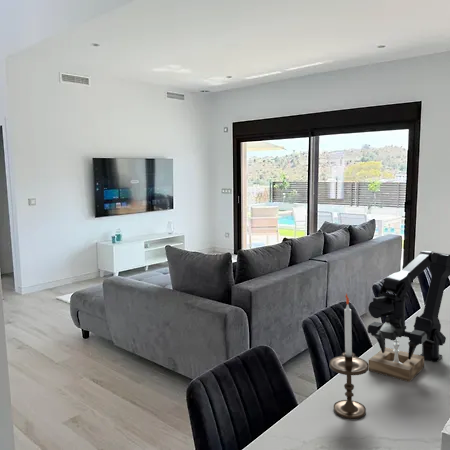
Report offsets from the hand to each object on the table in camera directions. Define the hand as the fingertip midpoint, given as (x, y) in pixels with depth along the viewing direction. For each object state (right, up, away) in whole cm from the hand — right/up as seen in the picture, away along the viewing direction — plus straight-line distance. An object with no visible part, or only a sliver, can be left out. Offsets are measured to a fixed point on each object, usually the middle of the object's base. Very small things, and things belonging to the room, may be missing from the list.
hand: (396, 355), depth 148 cm
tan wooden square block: (0, -5, +1) cm, 5 cm away
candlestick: (-24, -9, -25) cm, 35 cm away
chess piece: (0, -4, 0) cm, 4 cm away
